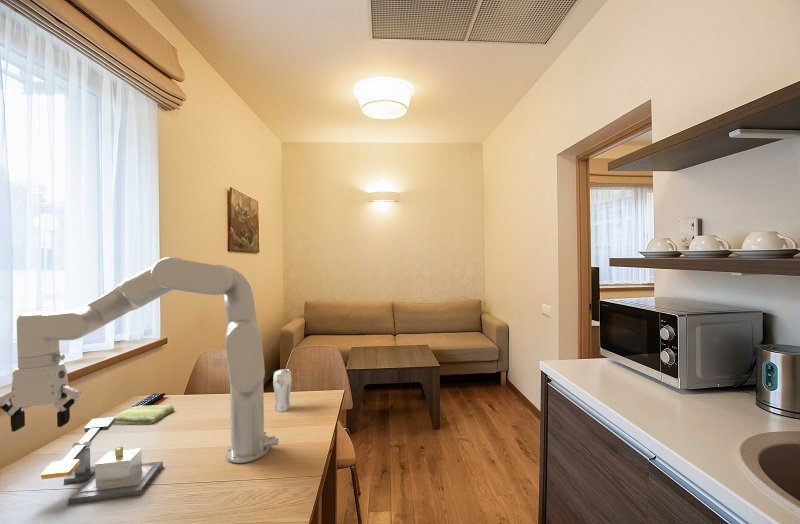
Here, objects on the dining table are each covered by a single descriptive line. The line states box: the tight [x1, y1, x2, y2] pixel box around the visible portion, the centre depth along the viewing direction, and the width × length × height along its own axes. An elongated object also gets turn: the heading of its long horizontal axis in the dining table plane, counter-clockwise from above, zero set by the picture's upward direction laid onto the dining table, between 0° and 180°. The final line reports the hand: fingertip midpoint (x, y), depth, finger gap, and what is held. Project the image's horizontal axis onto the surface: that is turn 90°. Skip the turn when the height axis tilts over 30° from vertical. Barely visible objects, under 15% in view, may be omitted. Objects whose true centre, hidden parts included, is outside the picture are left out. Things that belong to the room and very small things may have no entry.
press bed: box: [63, 447, 164, 505], centre depth 97 cm, size 23×15×7 cm, turn 102°
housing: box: [94, 446, 143, 487], centre depth 97 cm, size 8×6×8 cm
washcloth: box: [109, 404, 175, 426], centre depth 137 cm, size 13×18×3 cm
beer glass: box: [272, 368, 292, 413], centre depth 143 cm, size 7×7×15 cm
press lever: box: [40, 416, 115, 480], centre depth 100 cm, size 6×21×2 cm, turn 12°
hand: (41, 426), depth 91 cm, fingers open, 9 cm apart
